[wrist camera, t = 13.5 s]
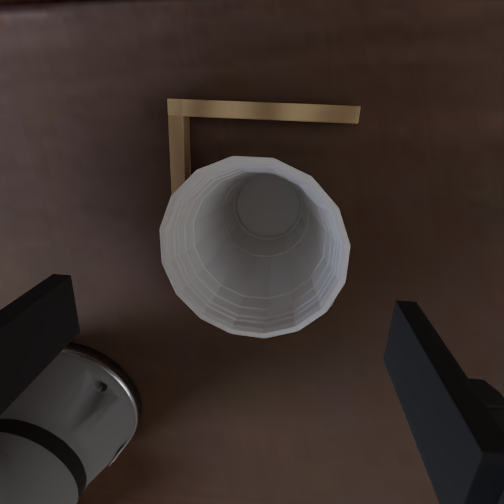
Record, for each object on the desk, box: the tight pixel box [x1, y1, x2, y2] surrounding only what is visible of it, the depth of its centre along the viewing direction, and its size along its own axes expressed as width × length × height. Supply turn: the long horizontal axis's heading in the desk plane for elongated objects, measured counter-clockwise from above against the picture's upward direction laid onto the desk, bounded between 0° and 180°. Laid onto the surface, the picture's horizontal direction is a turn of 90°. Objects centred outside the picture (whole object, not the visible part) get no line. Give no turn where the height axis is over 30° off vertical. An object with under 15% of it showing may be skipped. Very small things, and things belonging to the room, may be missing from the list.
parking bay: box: [167, 99, 361, 306], centre depth 30 cm, size 14×16×2 cm
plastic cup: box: [159, 156, 350, 338], centre depth 25 cm, size 11×11×12 cm
